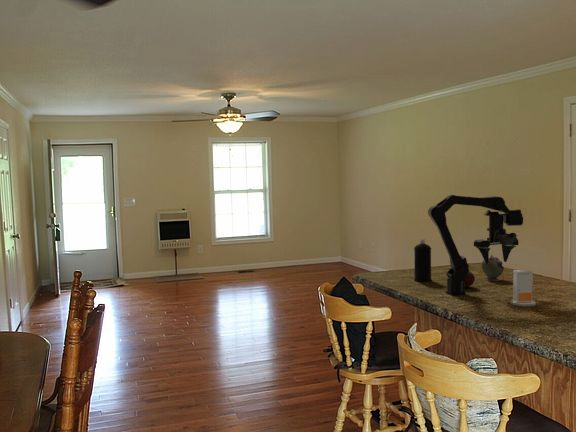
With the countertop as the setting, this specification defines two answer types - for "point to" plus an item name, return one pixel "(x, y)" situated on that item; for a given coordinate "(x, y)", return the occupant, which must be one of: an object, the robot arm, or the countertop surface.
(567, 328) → the countertop surface
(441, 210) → the robot arm
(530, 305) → the silver round plate
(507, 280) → the countertop surface
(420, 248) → the aerosol can
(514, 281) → the skincare box
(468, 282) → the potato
